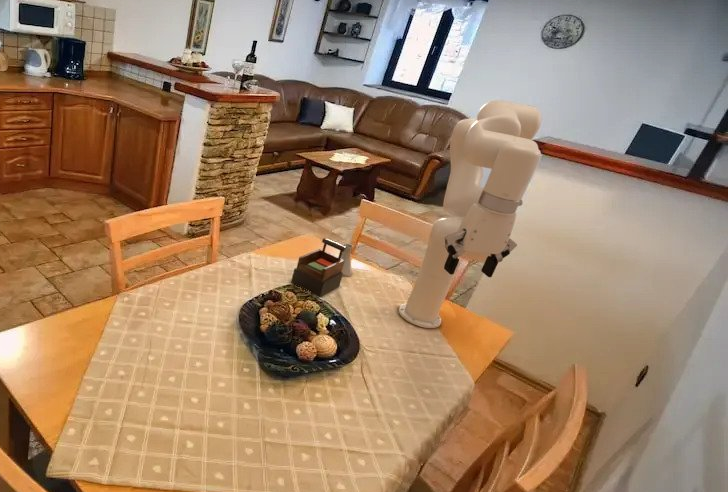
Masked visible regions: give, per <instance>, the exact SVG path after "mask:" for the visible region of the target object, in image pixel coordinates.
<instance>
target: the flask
mask: <svg viewBox="0 0 728 492" xmlns="http://www.w3.org/2000/svg"><path fill="white" fill-rule="evenodd" d="M343 246H344V247H346V251H345V252H342V256H341V259H343V260H345V261H344V265H343V268H342V271H341V272H342V273H343V275H342V276H351V274H352V272H353V271H352V258H351V256H352V249H354V245H353V244H351V243H348V242H347V243H345V242H344V245H343Z"/></svg>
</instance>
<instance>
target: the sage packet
mask: <svg viewBox="0 0 728 492" xmlns="http://www.w3.org/2000/svg"><path fill="white" fill-rule="evenodd" d="M307 266H308V267H310V268H312V269H314V270H316V271H318V272H320V273H322V272H323V268H326V267H324V266H322V265H320V264H317V263H315V262H312V263H309V264H308V265H307Z"/></svg>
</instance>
